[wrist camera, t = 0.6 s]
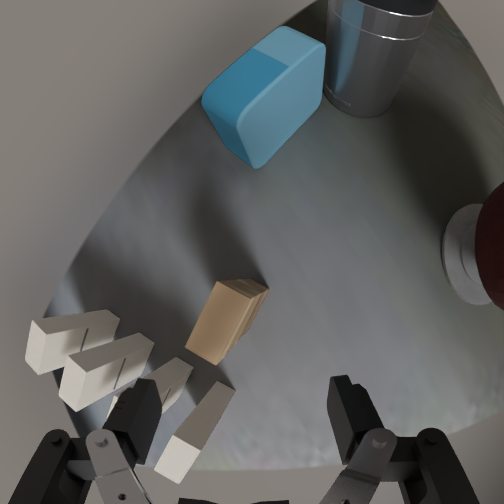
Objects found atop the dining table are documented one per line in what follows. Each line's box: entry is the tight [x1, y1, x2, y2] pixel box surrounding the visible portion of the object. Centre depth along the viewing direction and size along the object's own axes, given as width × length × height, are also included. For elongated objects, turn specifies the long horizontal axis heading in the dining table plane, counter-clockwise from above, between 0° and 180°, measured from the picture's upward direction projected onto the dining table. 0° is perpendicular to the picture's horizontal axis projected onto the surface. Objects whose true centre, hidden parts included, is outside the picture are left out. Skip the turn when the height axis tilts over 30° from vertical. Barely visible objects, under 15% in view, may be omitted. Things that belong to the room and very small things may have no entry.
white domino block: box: [59, 333, 155, 412], centre depth 26 cm, size 2×5×13 cm, turn 153°
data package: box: [201, 26, 326, 169], centre depth 26 cm, size 12×4×12 cm, turn 139°
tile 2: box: [154, 381, 235, 484], centre depth 24 cm, size 2×5×13 cm, turn 153°
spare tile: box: [185, 279, 269, 365], centre depth 24 cm, size 2×5×13 cm, turn 153°
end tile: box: [25, 309, 120, 375], centre depth 27 cm, size 2×5×13 cm, turn 153°
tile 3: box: [106, 357, 194, 420], centre depth 25 cm, size 2×5×13 cm, turn 153°
